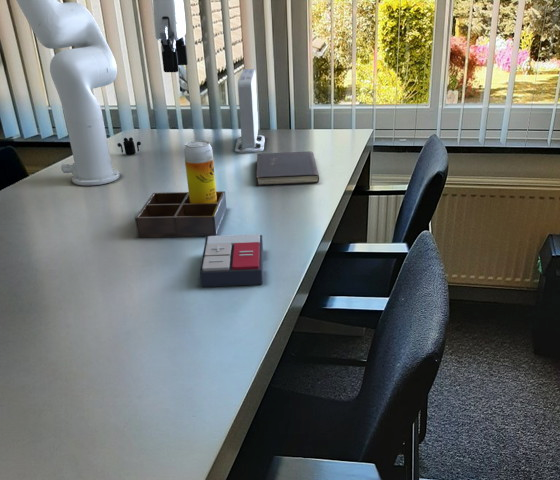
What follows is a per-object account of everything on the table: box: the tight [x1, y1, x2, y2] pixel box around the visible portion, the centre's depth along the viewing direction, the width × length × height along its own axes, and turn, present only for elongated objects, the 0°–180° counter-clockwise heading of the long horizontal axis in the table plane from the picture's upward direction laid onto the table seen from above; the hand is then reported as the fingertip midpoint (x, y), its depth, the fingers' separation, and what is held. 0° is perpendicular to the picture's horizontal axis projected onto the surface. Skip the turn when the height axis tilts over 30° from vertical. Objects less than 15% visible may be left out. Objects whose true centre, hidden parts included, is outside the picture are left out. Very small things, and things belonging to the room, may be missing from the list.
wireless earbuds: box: [117, 136, 142, 156], centre depth 188 cm, size 7×2×5 cm, turn 99°
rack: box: [134, 190, 228, 238], centre depth 137 cm, size 17×17×4 cm
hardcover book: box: [255, 150, 320, 187], centre depth 167 cm, size 16×23×2 cm
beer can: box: [183, 140, 217, 204], centre depth 136 cm, size 6×6×15 cm
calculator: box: [199, 233, 264, 288], centre depth 115 cm, size 11×4×15 cm
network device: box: [234, 68, 266, 154], centre depth 189 cm, size 26×9×20 cm, turn 179°
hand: (176, 68), depth 138 cm, fingers open, 9 cm apart
